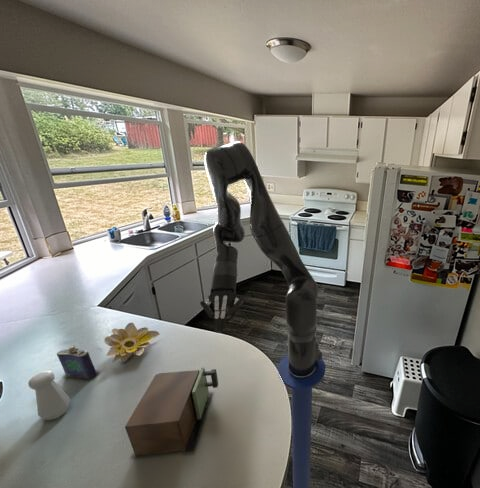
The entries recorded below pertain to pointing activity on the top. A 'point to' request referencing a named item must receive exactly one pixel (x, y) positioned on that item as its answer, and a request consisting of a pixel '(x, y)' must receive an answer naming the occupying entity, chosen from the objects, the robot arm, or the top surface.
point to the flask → (76, 363)
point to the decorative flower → (128, 341)
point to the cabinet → (166, 415)
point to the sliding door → (203, 389)
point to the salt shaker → (49, 396)
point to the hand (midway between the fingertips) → (219, 332)
